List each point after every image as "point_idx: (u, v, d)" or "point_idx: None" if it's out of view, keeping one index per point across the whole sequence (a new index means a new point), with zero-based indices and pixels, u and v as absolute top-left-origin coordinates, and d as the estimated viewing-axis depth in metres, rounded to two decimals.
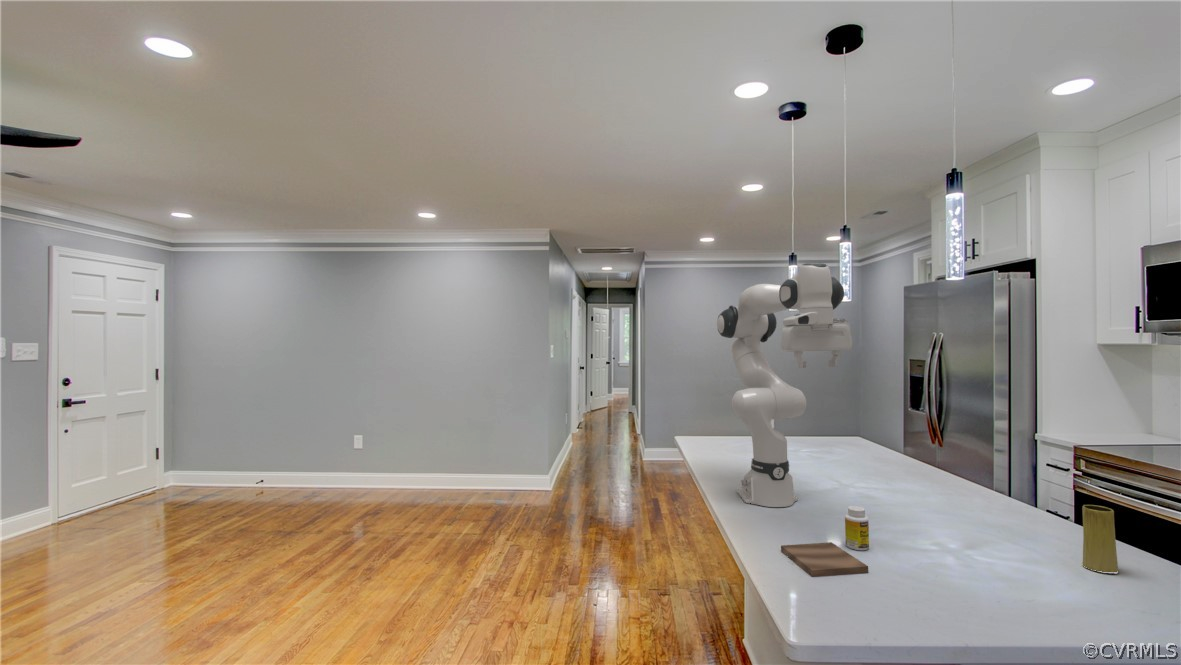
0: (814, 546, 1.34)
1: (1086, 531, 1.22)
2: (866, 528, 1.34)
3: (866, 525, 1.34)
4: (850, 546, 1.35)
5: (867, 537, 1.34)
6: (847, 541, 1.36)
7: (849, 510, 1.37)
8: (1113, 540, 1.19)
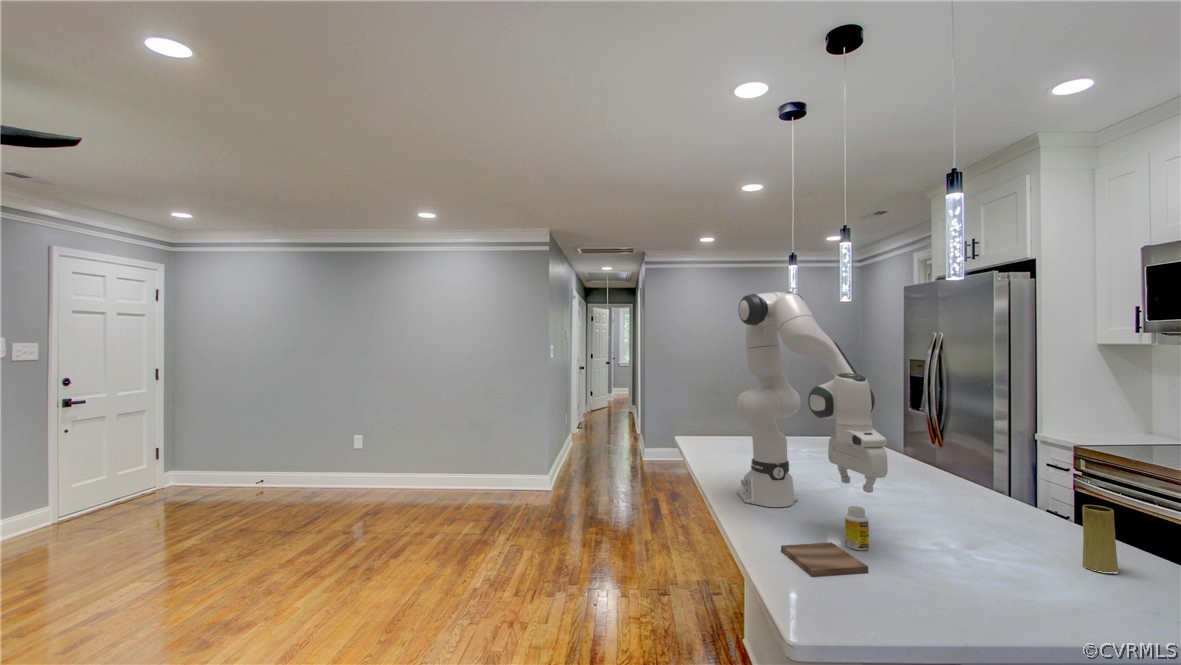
0: (814, 546, 1.34)
1: (1086, 531, 1.22)
2: (866, 528, 1.34)
3: (866, 525, 1.34)
4: (850, 546, 1.35)
5: (867, 537, 1.34)
6: (847, 541, 1.36)
7: (849, 510, 1.37)
8: (1113, 540, 1.19)
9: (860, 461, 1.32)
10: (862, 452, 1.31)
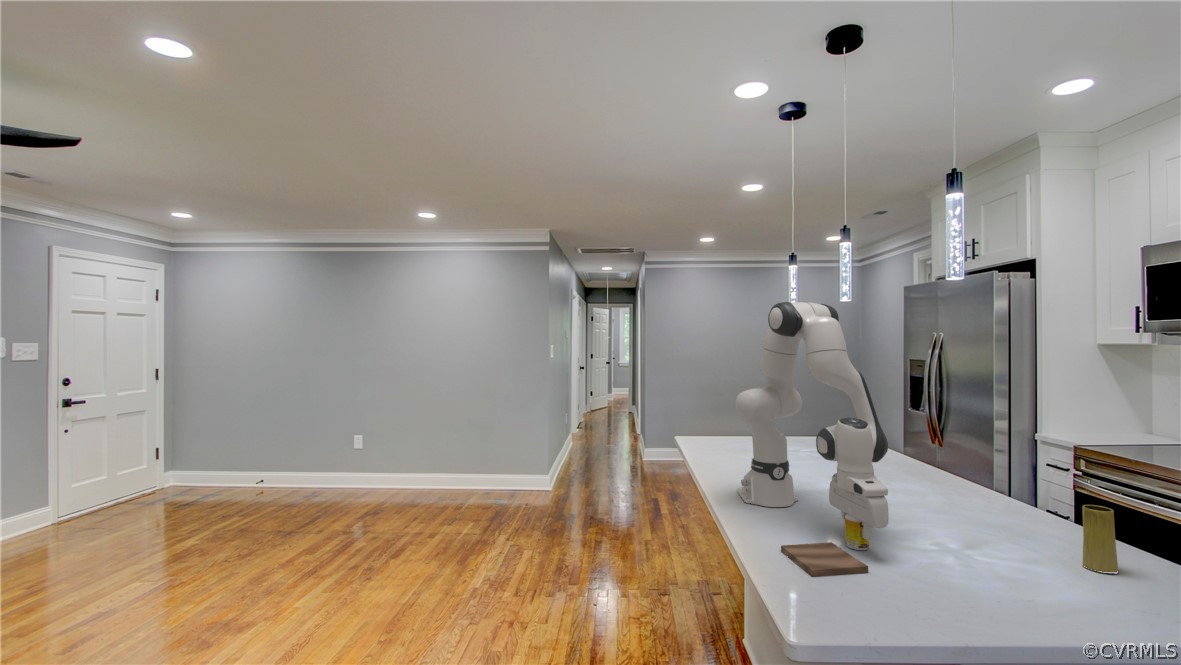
0: (814, 546, 1.34)
1: (1086, 531, 1.22)
2: None
3: None
4: (850, 546, 1.35)
5: None
6: (847, 541, 1.36)
7: (849, 510, 1.37)
8: (1113, 540, 1.19)
9: (861, 509, 1.32)
10: (863, 500, 1.31)
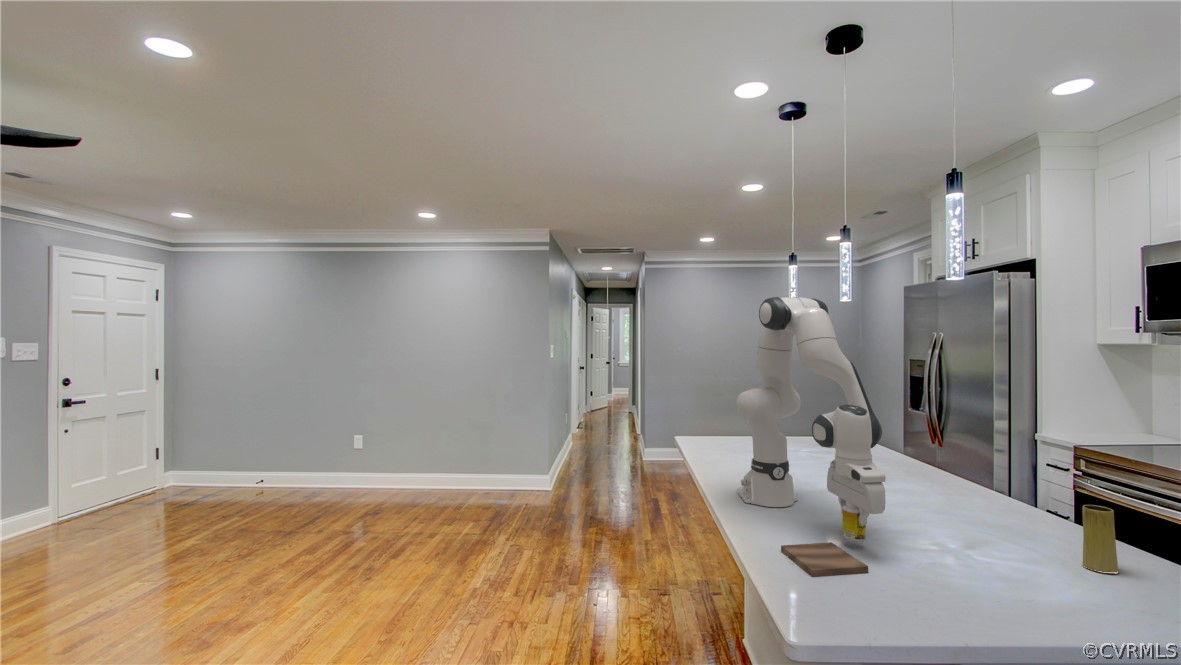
0: (814, 546, 1.34)
1: (1086, 531, 1.22)
2: None
3: None
4: (846, 537, 1.36)
5: (864, 528, 1.35)
6: (844, 532, 1.37)
7: (847, 501, 1.37)
8: (1113, 540, 1.19)
9: (858, 495, 1.32)
10: (860, 487, 1.31)
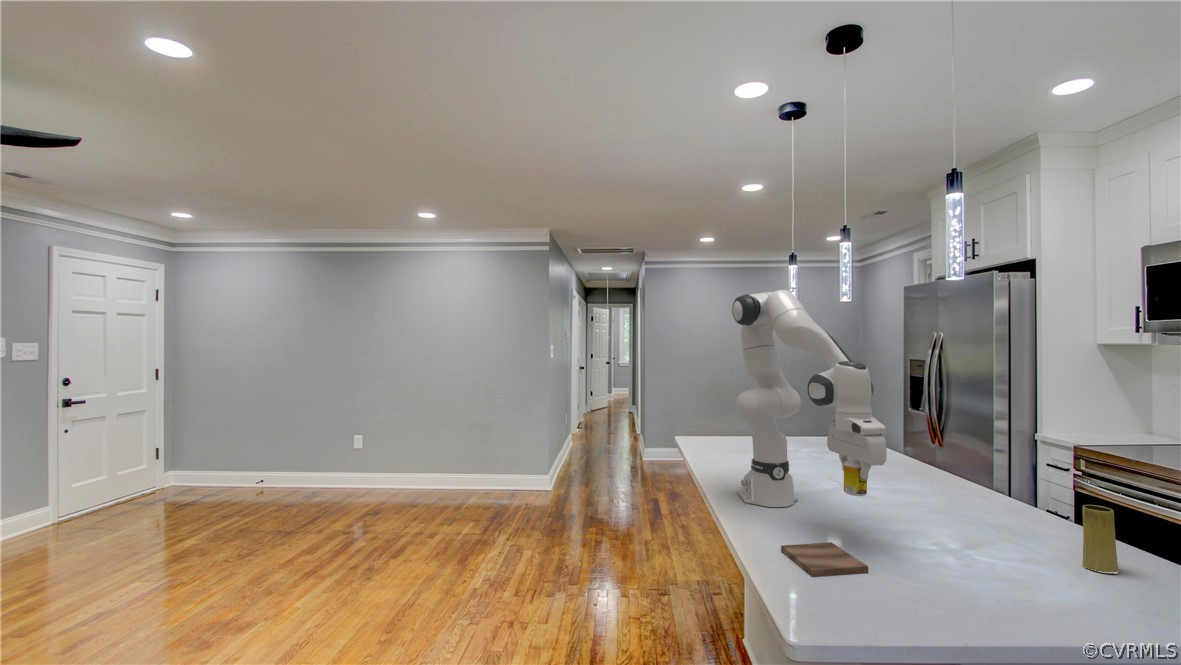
0: (814, 546, 1.34)
1: (1086, 531, 1.22)
2: None
3: None
4: (848, 492, 1.36)
5: (865, 483, 1.35)
6: (845, 487, 1.37)
7: (848, 457, 1.37)
8: (1113, 540, 1.19)
9: (859, 448, 1.32)
10: (861, 440, 1.31)
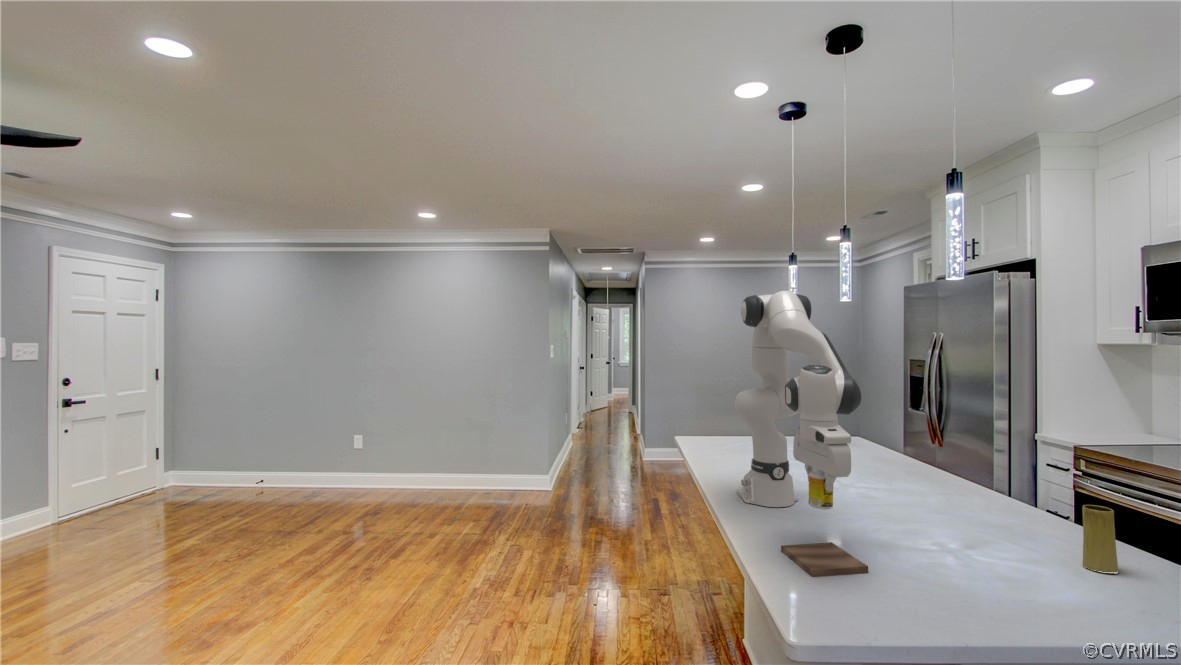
0: (814, 546, 1.34)
1: (1086, 531, 1.22)
2: None
3: None
4: (813, 505, 1.27)
5: (831, 495, 1.26)
6: (810, 500, 1.28)
7: (813, 467, 1.29)
8: (1113, 540, 1.19)
9: (823, 459, 1.24)
10: (825, 449, 1.23)
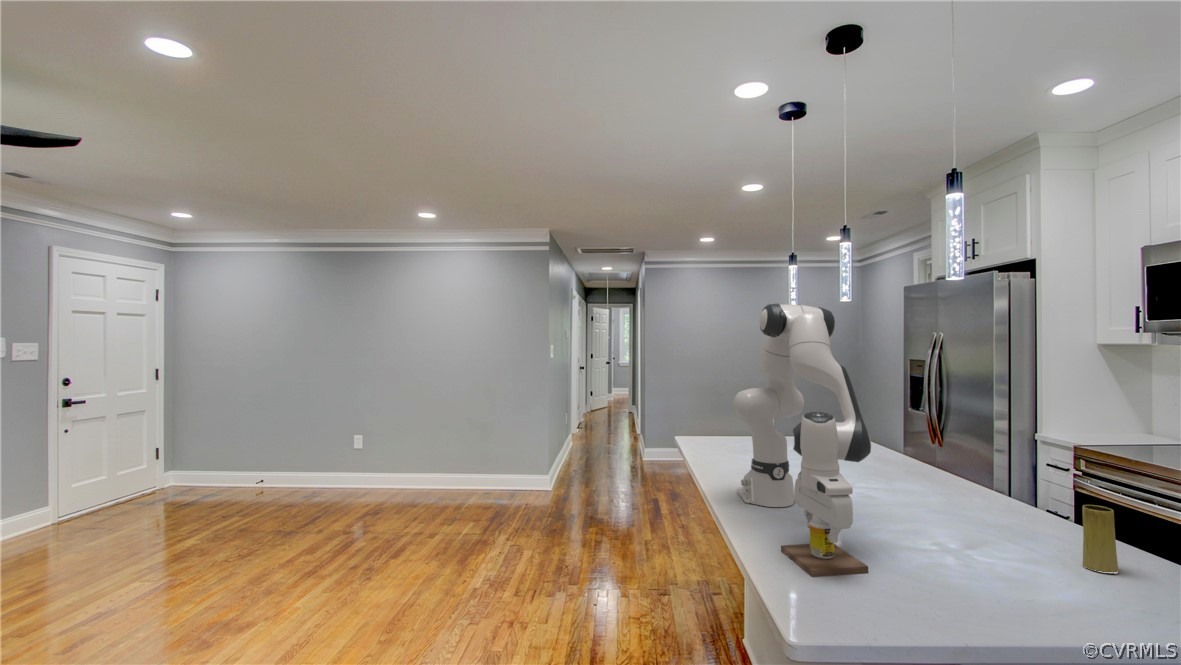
0: None
1: (1086, 531, 1.22)
2: None
3: None
4: (814, 554, 1.27)
5: (832, 545, 1.26)
6: (811, 549, 1.28)
7: (813, 516, 1.28)
8: (1113, 540, 1.19)
9: (824, 509, 1.23)
10: (827, 500, 1.22)
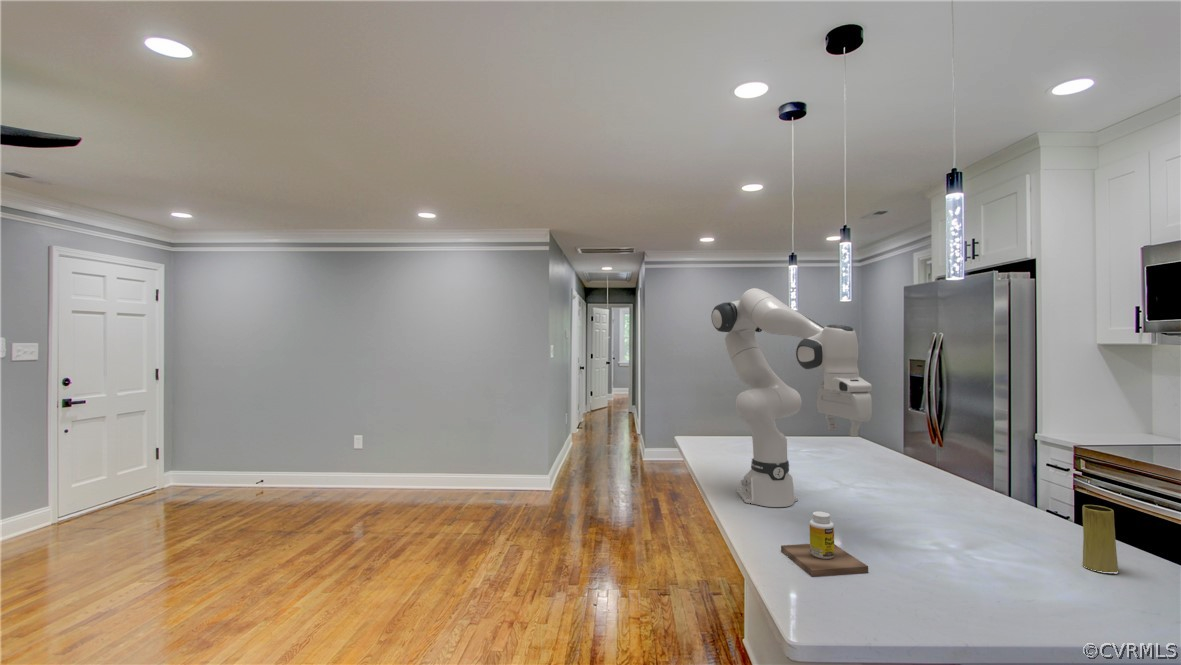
0: None
1: (1086, 531, 1.22)
2: (831, 535, 1.26)
3: (832, 532, 1.26)
4: (814, 554, 1.27)
5: (832, 545, 1.26)
6: (811, 549, 1.28)
7: (814, 516, 1.28)
8: (1113, 540, 1.19)
9: (846, 407, 1.37)
10: (848, 398, 1.36)
